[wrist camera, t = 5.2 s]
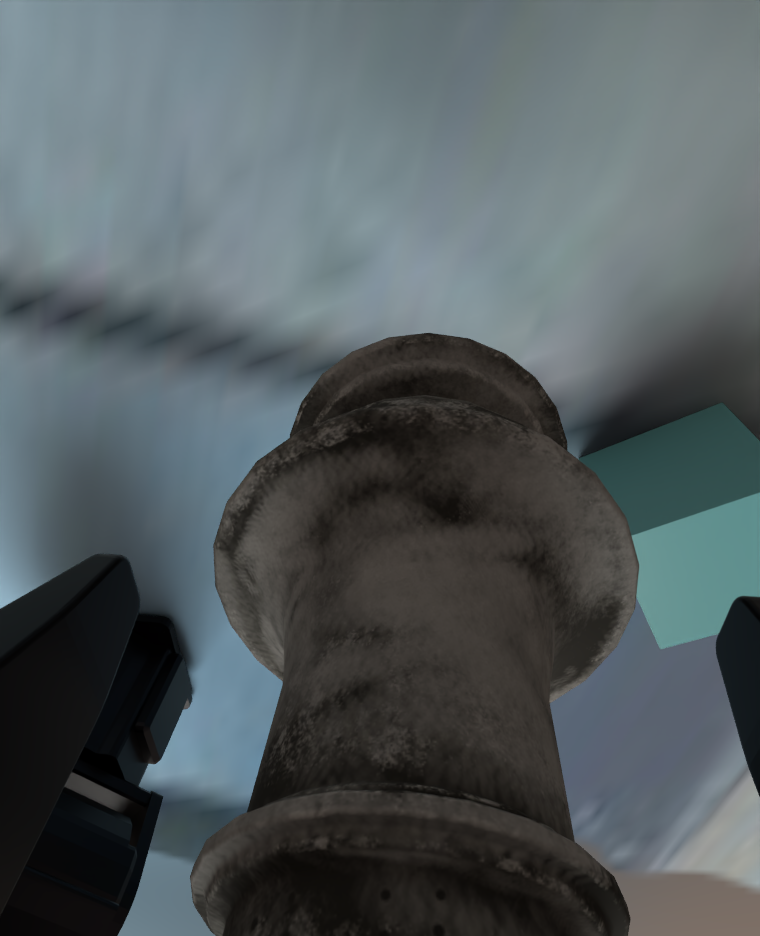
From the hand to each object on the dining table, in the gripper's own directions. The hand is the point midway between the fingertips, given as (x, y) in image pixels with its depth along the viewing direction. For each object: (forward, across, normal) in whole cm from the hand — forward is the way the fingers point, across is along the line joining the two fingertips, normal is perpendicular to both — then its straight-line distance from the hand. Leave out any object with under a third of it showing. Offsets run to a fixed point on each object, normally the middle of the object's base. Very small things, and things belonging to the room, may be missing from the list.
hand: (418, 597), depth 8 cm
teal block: (+13, -9, +6) cm, 17 cm away
